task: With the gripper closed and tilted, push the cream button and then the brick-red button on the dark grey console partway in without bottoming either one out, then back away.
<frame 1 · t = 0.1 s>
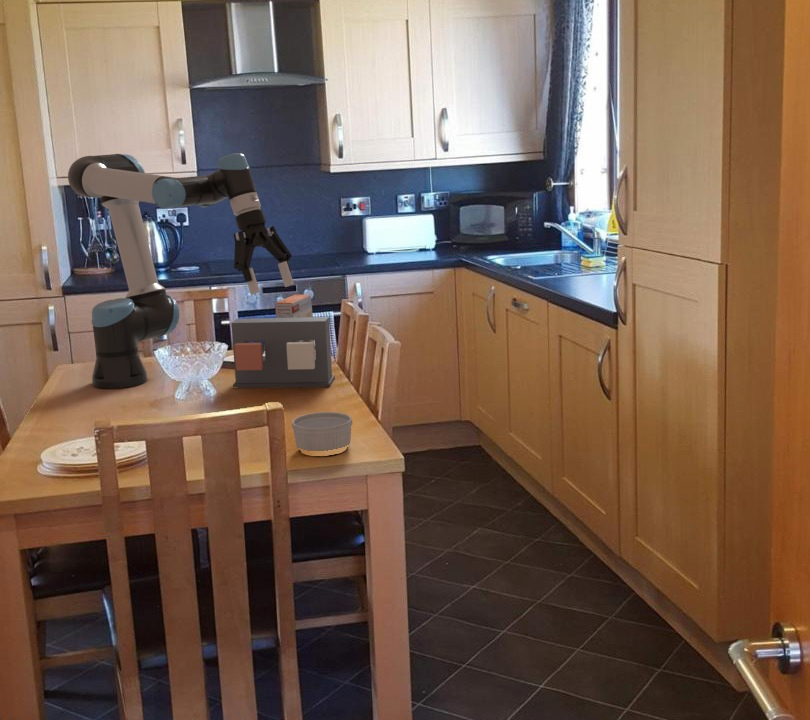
hand: (272, 289, 265), 28 cm above the table, tool tilted 20°, fingers open, 13 cm apart
brick button: (252, 353, 273), point 10 cm above the table, slide at 0.0 cm
console: (284, 383, 280), on the table
cracker box: (297, 368, 298), on the table
ramekin: (323, 450, 221), on the table
cream button: (303, 352, 272), point 10 cm above the table, slide at 0.0 cm
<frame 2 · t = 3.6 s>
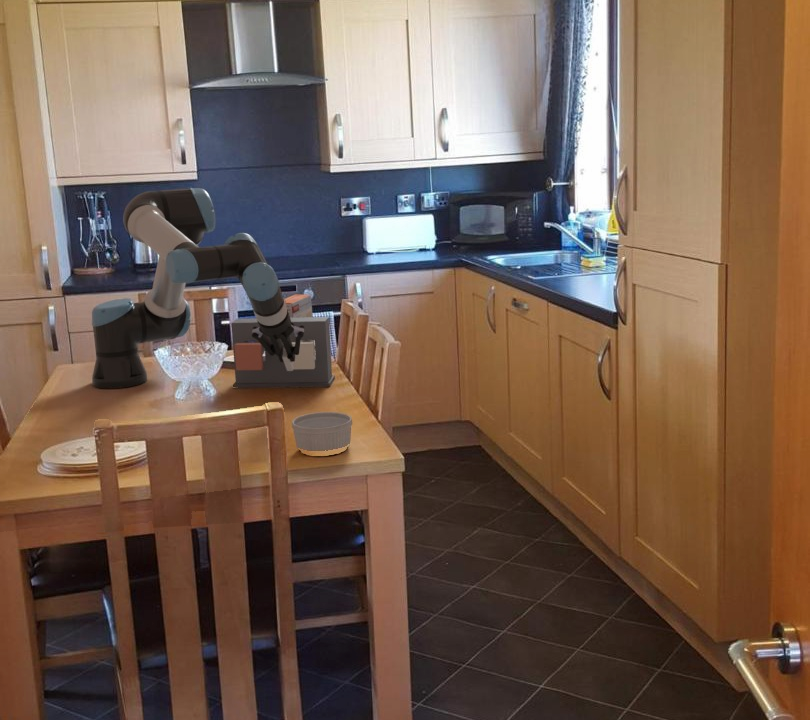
hand: (290, 366, 255), 10 cm above the table, tool tilted 45°, fingers closed
nothing on the table moved.
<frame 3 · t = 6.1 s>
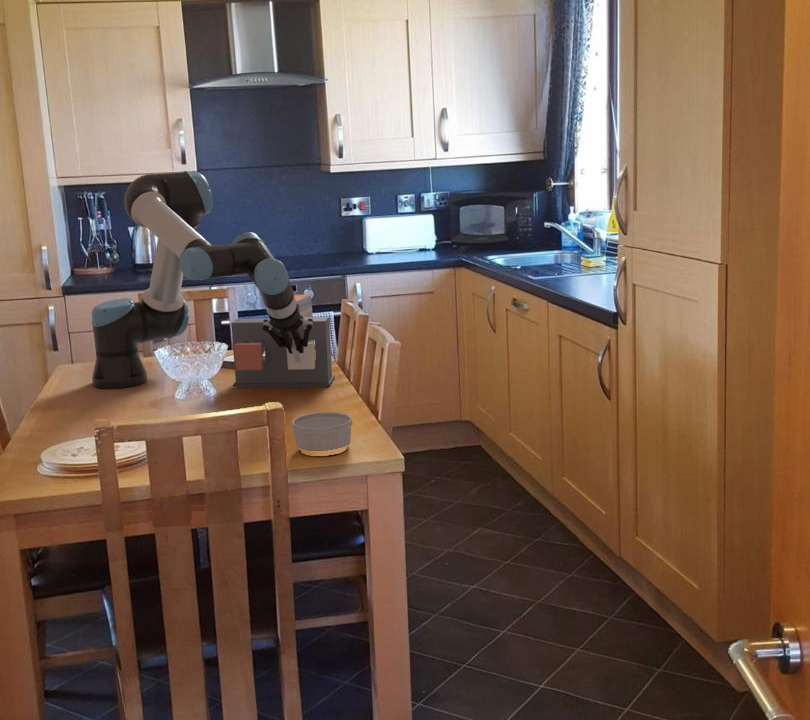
hand: (299, 357, 266), 10 cm above the table, tool tilted 45°, fingers closed
cream button: (303, 352, 272), point 10 cm above the table, slide at 0.0 cm, touching gripper
everything else where it was.
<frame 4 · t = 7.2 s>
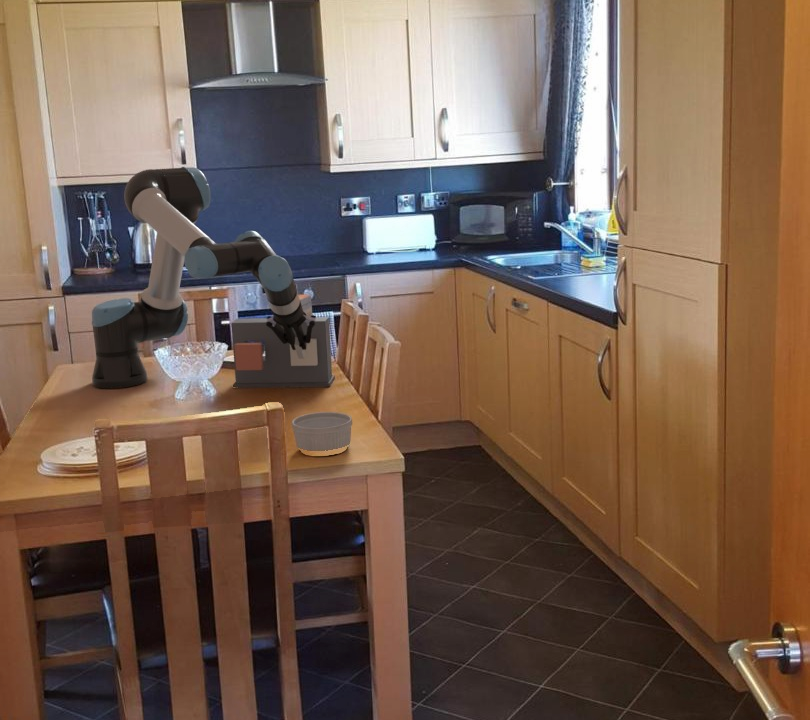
hand: (301, 354, 269), 10 cm above the table, tool tilted 45°, fingers closed
cream button: (306, 348, 276), point 10 cm above the table, slide at 4.1 cm, touching gripper
everything else where it was.
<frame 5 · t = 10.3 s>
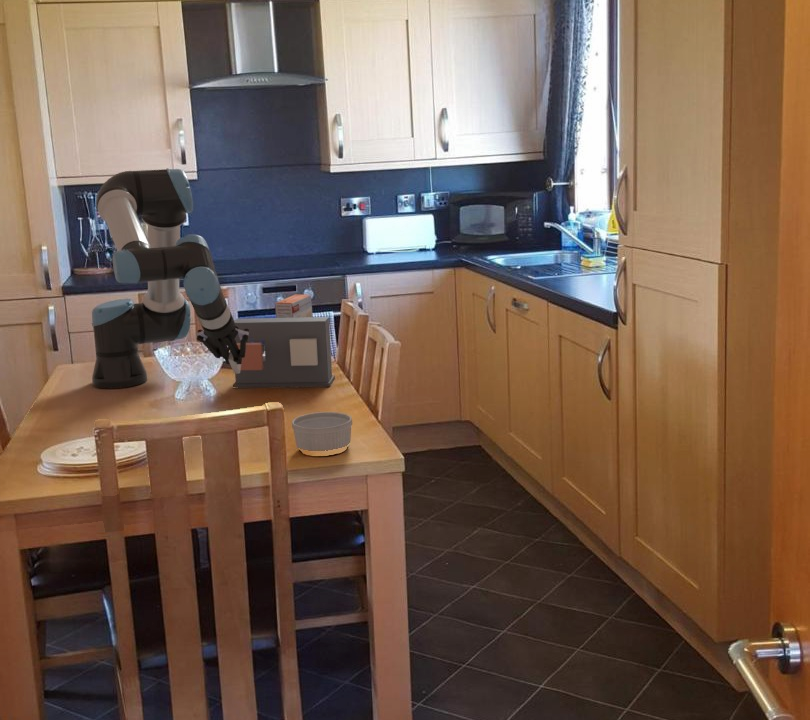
hand: (237, 368, 256), 10 cm above the table, tool tilted 45°, fingers closed
cream button: (306, 348, 276), point 10 cm above the table, slide at 4.3 cm
everything else where it was.
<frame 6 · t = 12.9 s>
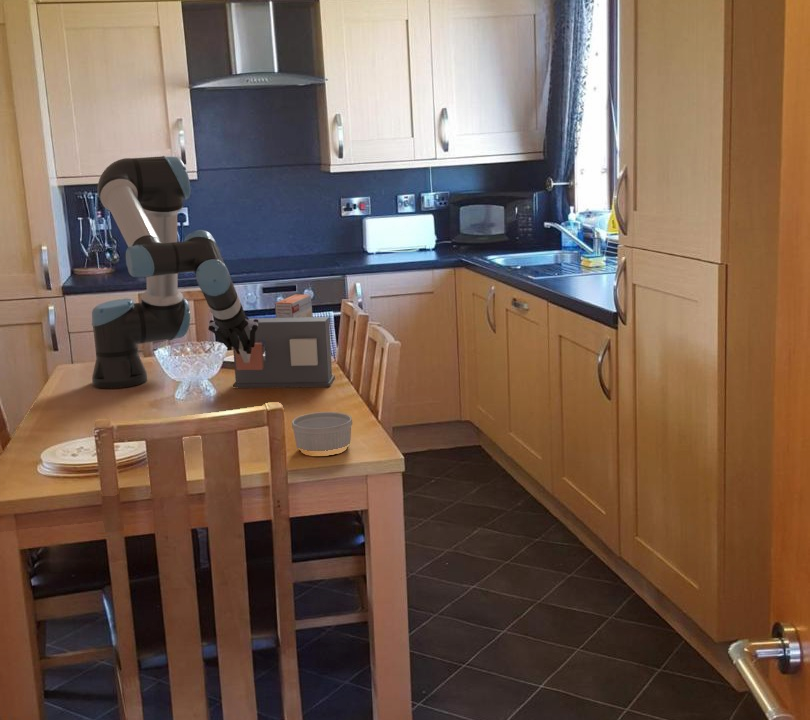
hand: (247, 358, 267), 10 cm above the table, tool tilted 45°, fingers closed
brick button: (253, 352, 273), point 10 cm above the table, slide at 0.4 cm, touching gripper
everything else where it was.
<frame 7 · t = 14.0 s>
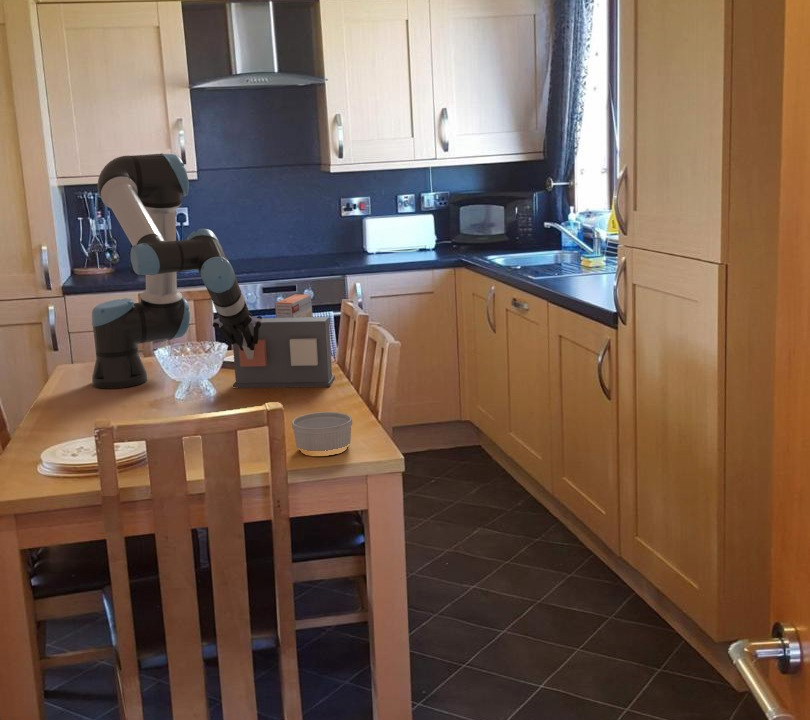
hand: (250, 354, 271), 10 cm above the table, tool tilted 45°, fingers closed
brick button: (256, 349, 277), point 10 cm above the table, slide at 4.3 cm, touching gripper
everything else where it was.
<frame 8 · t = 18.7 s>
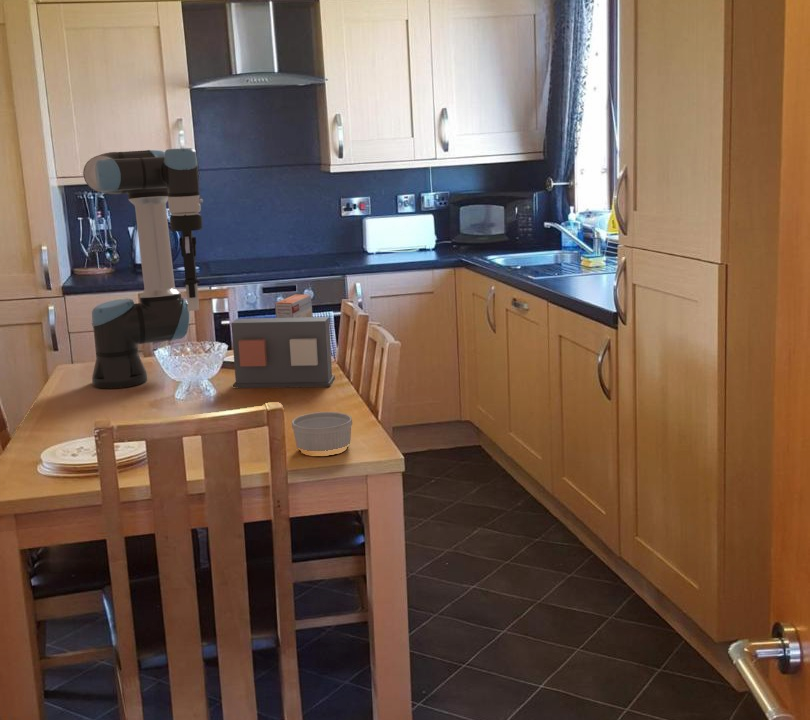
hand: (193, 310, 247), 26 cm above the table, tool pointing down, fingers closed
brick button: (256, 349, 277), point 10 cm above the table, slide at 4.4 cm
everything else where it was.
at the end: cream button slide at 4.3 cm; brick button slide at 4.4 cm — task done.
